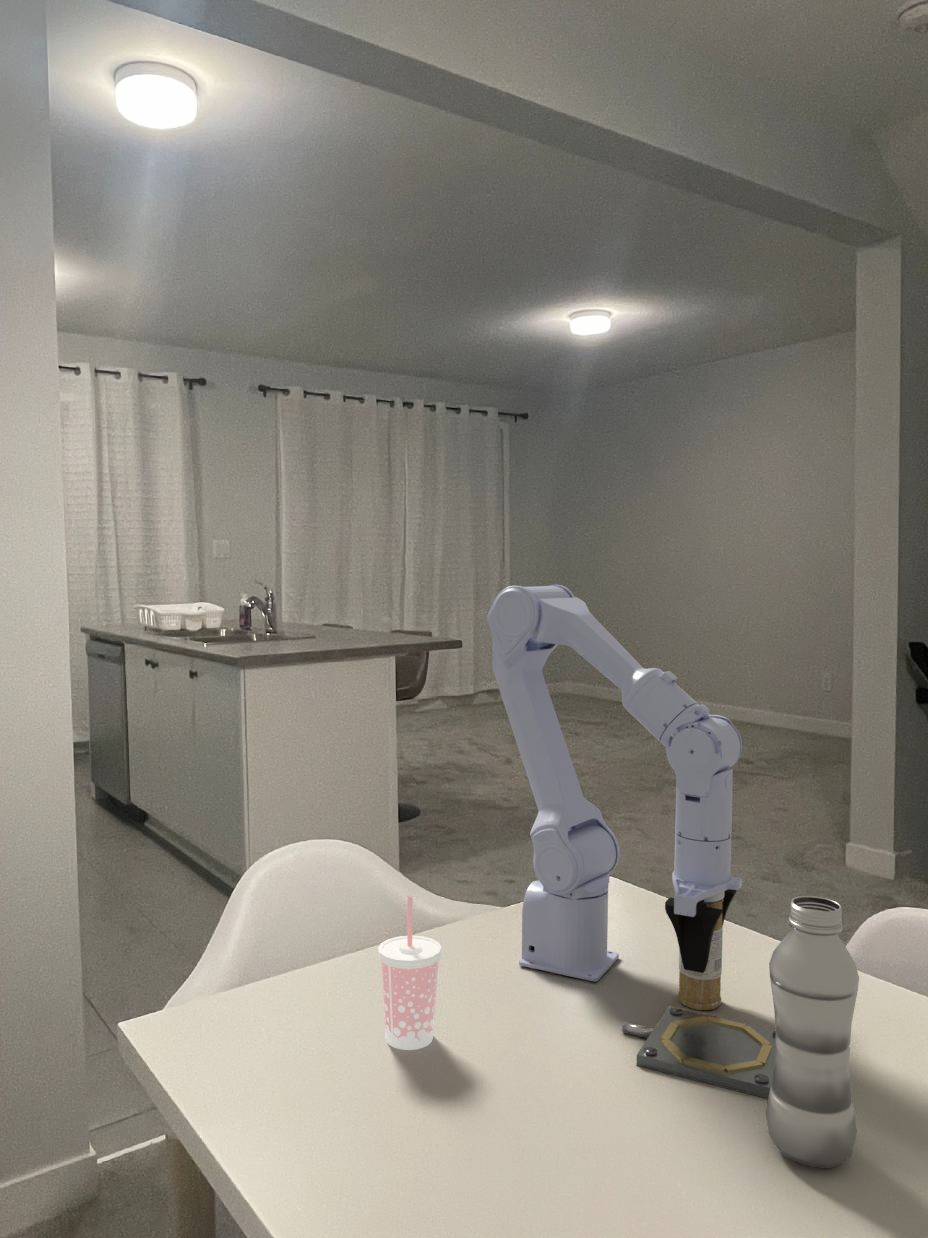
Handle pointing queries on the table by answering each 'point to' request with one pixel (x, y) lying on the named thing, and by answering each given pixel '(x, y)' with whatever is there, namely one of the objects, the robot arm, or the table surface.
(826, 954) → the plastic bottle
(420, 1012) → the beverage cup
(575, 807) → the robot arm
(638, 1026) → the octagon fixture plate
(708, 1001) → the sprinkles bottle
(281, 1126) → the table surface
